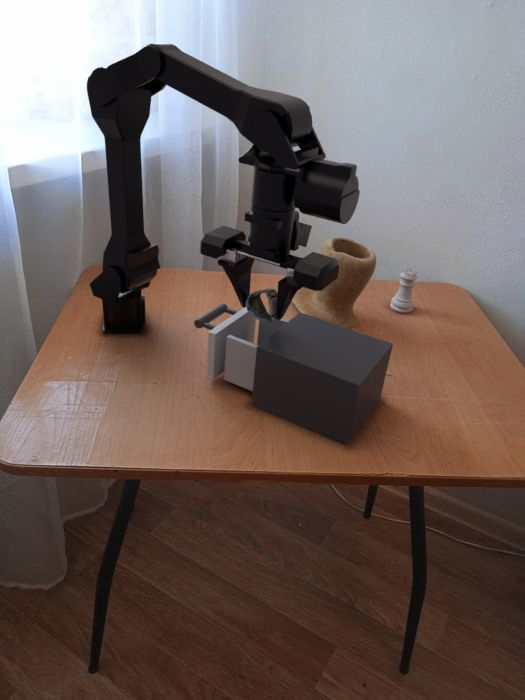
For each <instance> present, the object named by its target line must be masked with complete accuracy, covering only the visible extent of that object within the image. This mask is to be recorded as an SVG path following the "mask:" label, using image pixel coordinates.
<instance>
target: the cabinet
mask: <svg viewBox="0 0 525 700" xmlns="http://www.w3.org/2000/svg"><path fill="white" fill-rule="evenodd" d="M393 347H394V343H393V342H389V341H388V340H387V341H386V340H384V339H381V338H377V337H375V336H371V335H368V334H366V333H364V332H360V331H357V330H355V329H348V328H345V327H342V326H339V325H336V324H333V323H330V322H327V321H325V320H322V319H319V318H316V317H313V316H310V315H307V314H304V313H301V312H298V313H297V314H296V315H294V316H293V317H292V318H291V319H290V320H289V321H288V322H287V323H286V324H285V325H283V326H282V327H281V328H280V329H278V330H277V331H276V332H275V333H273V334H272V335H271V336H270V337H268V338H267V339H266V340H265V341H263V342H262V343H261V344H260V345H258V346H257V350H256V361H255V372H254V382H253V391H252V395H251V404H250V405H251V406H253V407H255V408H257V409H258V410H262V411H264V412H265V413H268V414H271V415H274V416H276V417H278V418H281V419H282V420H285V421H288V422H290V423H293V424H295V425H296V426H299V427H302V428H304V429H307V430H309V431H311V432H313V433H316V434H318V435H320V436H322V437H325V438H327V439H329V440H332V441H335V442H337V443H339V444H342V445H344V446H348V445H349V443H350V442H351V440H352V439H353V438H354V436H355V435H356V433H357V432H358V430H359V429H360V428H361V426H362V425H363V424H364V422H365V421H366V419H367V418H368V417H369V416H370V414H371V412H372V411H373V410H374V408H375V407H376V405H377V404H378V403H379V401H380V400H381V397H382V392H383V388H384V385H385V384H384V383H385V379H386V376H387V372H388V368H389V363H390V360H391V355H392V351H393Z"/></svg>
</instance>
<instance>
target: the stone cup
mask: <svg viewBox="0 0 525 700" xmlns="http://www.w3.org/2000/svg"><path fill="white" fill-rule="evenodd" d="M319 254H322V255H326V256H329V257H332V258H336V260H337V262H338V265H339V272H338V278H337V279H336V280H334V281H333V282H332V283H331V284H329V285H328V286H327V287H325V288H324V289H323V290H322V291H314V290H311V289H308V288H305V287H303V288H301V289H300V290H298V291H297V292H296V294H295V296H294V298H293V299H292V301H291V303H292V304H293V306H295V308H296V309H297V311H298V313H300V312H301V313H304V314H307V315H310V316H313V317H316V318H319V319H322V320H325V321H327V322H330V323H333V324H336V325H339V326H342V327H345V328H348V329H351V330H355V329H356V328H357V327H358V326H359V321H358V319H357V317H356V315H355V312H354V311H353V310H354V305H355V303H356V302H357V300H358V298H359V296H361V294H362V292H363V291H364V289H365V288H366V287H367V285H368V284H369V282H370V280H371V278H372V277H373V274H374V272H375V271H376V265H377V255H376V254H375V252H374V251H373V250H372V249H371V248H369V247H368V246H366V245H365V244H363V243H361V242H358V241H356V240H354V239H351V238H347V237H343V236H333V237H331V238H328V239H327V240H326V241H325V242H324V243H323V244H322V247H321V250H320V252H319Z"/></svg>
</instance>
